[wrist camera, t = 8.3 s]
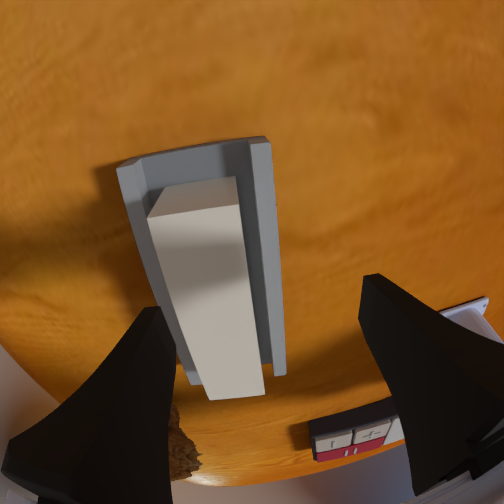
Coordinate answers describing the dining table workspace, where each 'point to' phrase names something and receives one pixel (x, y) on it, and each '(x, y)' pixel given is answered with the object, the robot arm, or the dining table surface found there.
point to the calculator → (355, 430)
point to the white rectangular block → (210, 283)
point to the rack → (253, 224)
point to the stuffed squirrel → (180, 450)
